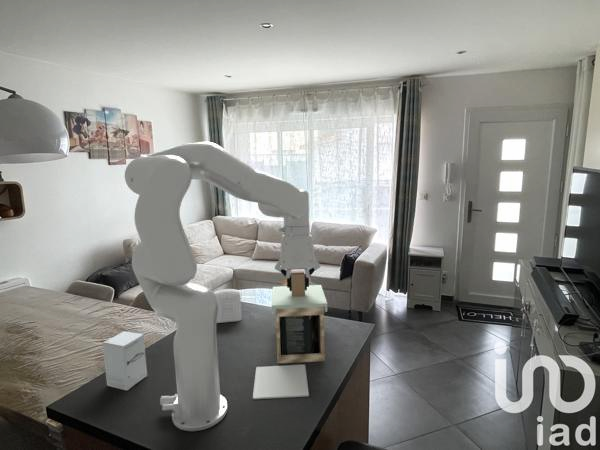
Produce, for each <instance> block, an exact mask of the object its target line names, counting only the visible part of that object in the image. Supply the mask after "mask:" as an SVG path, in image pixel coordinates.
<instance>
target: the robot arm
mask: <svg viewBox="0 0 600 450" xmlns="http://www.w3.org/2000/svg"><path fill="white" fill-rule="evenodd" d="M192 180H201V181H205V182H207V183H209V184H210V185H212V186H214V187H216V188H218V189H220V190H222V191H223V192H225V193H227V194H229V195H230V196H233V197H234V198H236V199H239V200H241V201H242V200H243V201H246V202H252V203H257V207H258V210H259V211H260V213H261V214H263V215H265V216H266V217H270V218H282V219H283V226H281V227H279V228H278V229H279V230H278V231H279V233H283V234H282V236H281V240H280V257H279V259H278V261H277V262H276V264H275V266H274V269H275V270H276V271H278V272H280V273H281V274H282V275H283V276H284V277H285V279H286V278H287V288H289V290H290V291H292V282H291V274H290V273H291V271H293V270H304V274H305V291H306V290H307V287H309V278H311V276H312V275H313V273H314V272H315V271H317V270H318V269H320V268H321V264H320V263H319V262H318V260H317V258H316V257H315V246H314V240H313V236H312V234H310V207H309V206H310V204H309V203H310V202H309V197H310V196H309V192H308V190H306V189H301V188H300V189H299V188H297V187H296V186H294V185H293V184H292V183H290V182H288V181H286V180H285V179H282V178H279V177H278V176H277V177H276V176H274V175H271V174H269V173H267V172H264V171H262V170H258V169H256V168H255V167H252V166H250V165H249V164H248V163H246V162H244V161H243V160H241V159H240V158H238V157H237V156H235V155H234V154H232V153H231V152H230V151H228V150H227V149H225V148H223V147H222V146H220V145H219V144H217V143H214V142H212V141H211V142H210V141H198V142H189V143H184V144H180V145H176V146H173V147H169V148H166V149H163V150H160V151H156V152H153V153H150V154H145V155H143V156H139V157H135V158H134V159H132V160H131V161H130V162H129V163H128V164H127V166H126V168H125V170H124V181H125V183H126V185H127V187H128V188H129V189H130V191H132V192H133V193H134V194H136V195H138V198H137V201H136V204H135V208H134V225H135V229H136V231H137V234H138V236H139V239H140V242H139V243H138V244H137V245H136V246H135V247H134V249H133V252H132V256H131V267H132V271H133V273H134V275H135V277H136V279H137V282H138V284H139V286H140V288H141V289H142V292H143V294H144V296H145V298H146V300H147V302H148V303H149V306H151V307H150V308H151V309H152V310H153V311H154V312H155V313H156V314H158V316H161V317H163V318H166V319H168V320H171V321H172V322H174V323H175V324H176V332H175V334H174V337H173V346H172V348H173V349H172V351H173V357H174V358H173V359H174V369H175V381H176V392H177V393H175V394H174V395H161V396H160V399H159V402H160V403H159V405H160V406H162V407H161V409H162V411H172V413H171V418H172V419H171V420H172V423H173V425H174V426H175V427H176V428H177V429H179V430H181V431H182V430H183V431H186V432H197V431H203V430H206V429H210V428H212V427H213V426H215V425H217V424H218V423H219V422H221V421H222V420H223V419H224V418H225V416H226V414H227V413H228V401H227V399H226V397H224V396H223V395H222V394H221V389H220V375H219V374H220V372H219V357H218V346H217V345H218V343H217V342H218V341H217V324H218V323H217V317H218V309H219V304H218V299H217V296H216V295H215V293H214V292H215V291H213V290H212V289H211V288H210V287H207V286H206V285H204V284H201V283H199V282H194V281H193V279H195V277H196V274H197V271H198V266H197V265H198V264H197V260H196V256H195V253H194V251H193V249H192V246H191V244H190V241H189V239H188V237H187V234H186V232H185V229H184V227H183V223H182V221H181V215H180V211H181V205H182V202H183V199H184V197H185V196H186V194H187V192H188V190H189V189H190V186H191V184H192Z"/></svg>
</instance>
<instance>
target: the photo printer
mask: <svg viewBox="0 0 600 450" xmlns="http://www.w3.org/2000/svg"><path fill="white" fill-rule="evenodd" d="M213 292H214V293H215V295H216V296H217V299H218V304H219V309H218V317H217V324H220V323H221V324H222V323H231V322H232V323H233V322H240V321H241V320H242V301H241V300H242V299H241V293H240V290H239V289H236V288H235V289H234V288H224V289H220V290H217V291H213Z"/></svg>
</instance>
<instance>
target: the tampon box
mask: <svg viewBox="0 0 600 450" xmlns="http://www.w3.org/2000/svg"><path fill="white" fill-rule="evenodd" d="M281 337H282V339H281V355H295V354H314V351H315V348H316V344H317V338H316V315H306V316H283V317H281Z"/></svg>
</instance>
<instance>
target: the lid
mask: <svg viewBox="0 0 600 450" xmlns="http://www.w3.org/2000/svg"><path fill="white" fill-rule="evenodd" d="M291 282H292V291H290V290H289V288H287V286H280V285H279V286H272V293H271V294H272V295H271V315H274V314H275V309H283V308H307V307H324V313H326V312H328V301H327V298H326V296H325V292H324V290H323V286H322V284H316V285H309V287H307V290H306V291H305V270H304V269H301V270H291Z"/></svg>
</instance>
